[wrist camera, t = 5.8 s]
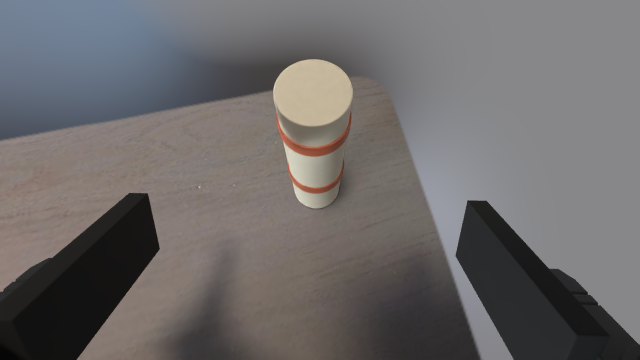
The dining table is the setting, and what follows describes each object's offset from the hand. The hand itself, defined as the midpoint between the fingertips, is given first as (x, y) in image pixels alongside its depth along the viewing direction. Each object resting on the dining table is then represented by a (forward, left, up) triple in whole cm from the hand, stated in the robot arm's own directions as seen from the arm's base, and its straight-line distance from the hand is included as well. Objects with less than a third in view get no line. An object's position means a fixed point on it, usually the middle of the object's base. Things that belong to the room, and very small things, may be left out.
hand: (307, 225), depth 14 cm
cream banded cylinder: (+1, -6, -12) cm, 13 cm away
